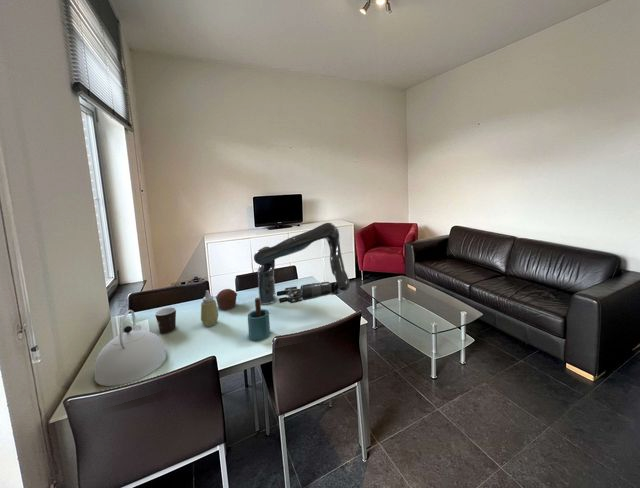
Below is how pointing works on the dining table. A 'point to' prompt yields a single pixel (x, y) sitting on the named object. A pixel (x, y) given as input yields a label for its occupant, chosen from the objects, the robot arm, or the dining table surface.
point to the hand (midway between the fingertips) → (278, 297)
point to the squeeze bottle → (209, 310)
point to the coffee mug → (166, 319)
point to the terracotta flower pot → (226, 299)
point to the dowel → (258, 307)
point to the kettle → (129, 356)
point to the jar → (258, 325)
